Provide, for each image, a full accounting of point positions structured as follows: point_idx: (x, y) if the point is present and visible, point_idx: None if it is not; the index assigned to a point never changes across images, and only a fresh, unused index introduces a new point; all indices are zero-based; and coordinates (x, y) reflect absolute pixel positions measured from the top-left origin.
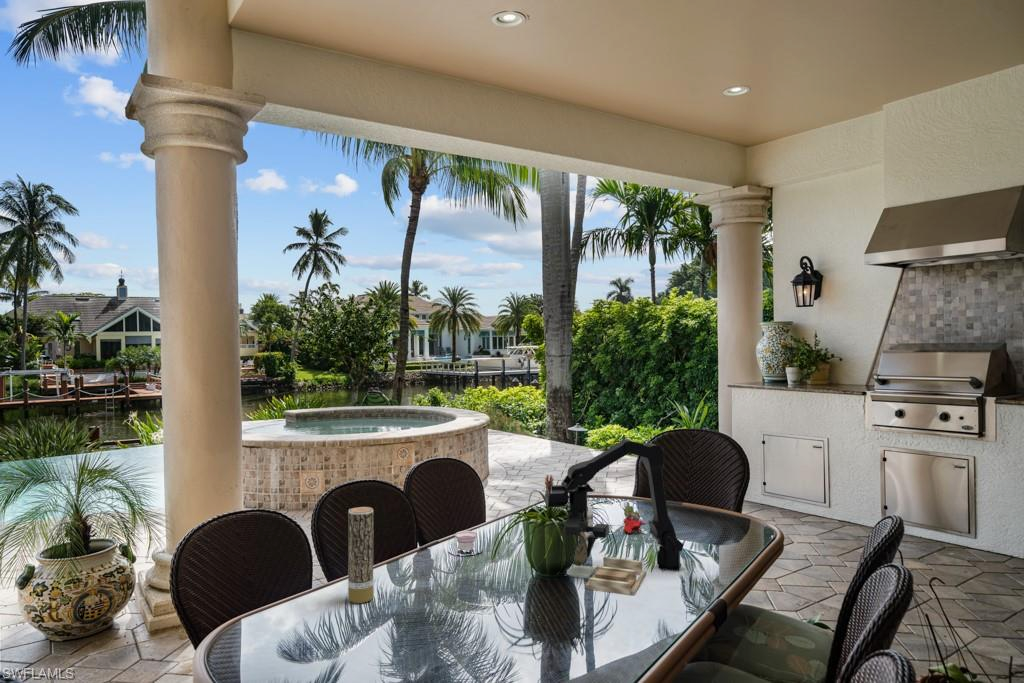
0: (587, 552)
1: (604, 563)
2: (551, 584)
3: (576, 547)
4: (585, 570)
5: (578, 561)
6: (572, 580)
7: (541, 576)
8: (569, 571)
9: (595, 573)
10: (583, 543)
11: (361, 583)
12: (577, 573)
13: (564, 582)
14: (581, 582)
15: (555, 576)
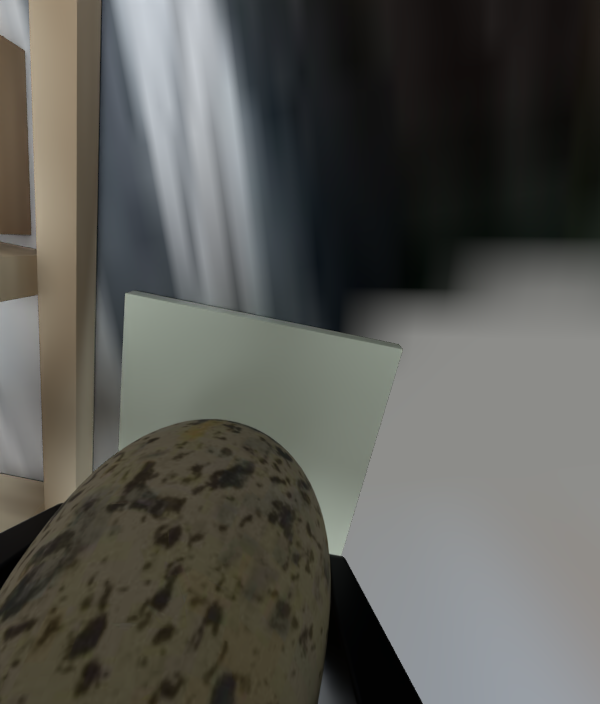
0: (18, 548)
1: (5, 527)
2: (491, 12)
3: (139, 597)
4: None
5: (198, 420)
6: (272, 202)
7: (588, 264)
8: (318, 394)
9: (66, 348)
10: None
11: None
12: (239, 352)
13: (347, 120)
14: (177, 158)
15: (445, 289)
